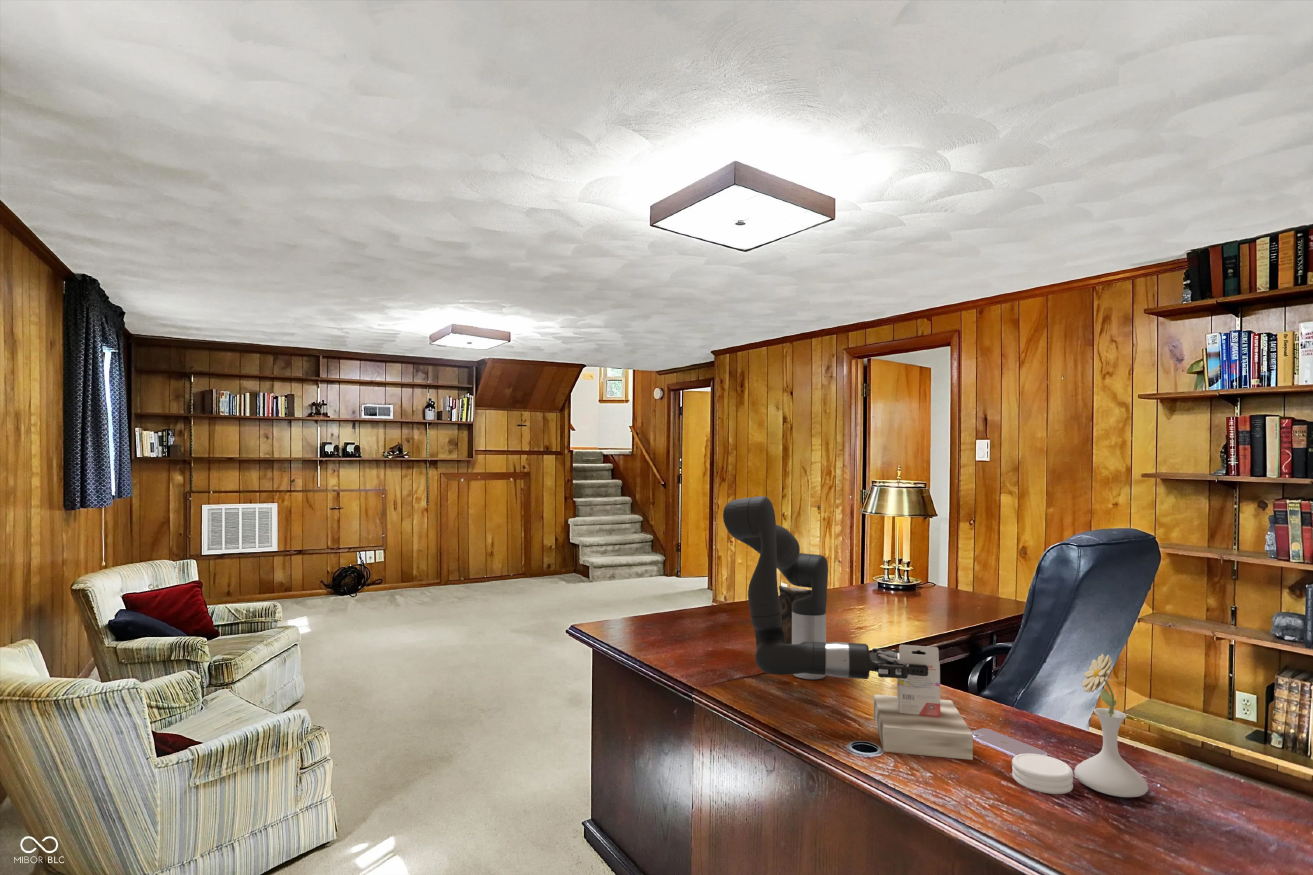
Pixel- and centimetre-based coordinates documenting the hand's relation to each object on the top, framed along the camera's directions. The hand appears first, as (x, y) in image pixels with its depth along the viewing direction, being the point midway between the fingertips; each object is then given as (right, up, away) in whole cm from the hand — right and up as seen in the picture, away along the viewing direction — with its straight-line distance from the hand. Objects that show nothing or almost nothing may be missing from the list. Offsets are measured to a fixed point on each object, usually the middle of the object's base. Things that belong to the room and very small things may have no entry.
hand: (924, 665), depth 151 cm
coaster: (+14, -15, -22) cm, 30 cm away
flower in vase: (+24, -15, -25) cm, 38 cm away
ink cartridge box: (-1, -10, 0) cm, 10 cm away
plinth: (-2, -15, -1) cm, 15 cm away
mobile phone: (+15, -16, -5) cm, 22 cm away
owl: (-12, -17, +64) cm, 68 cm away
